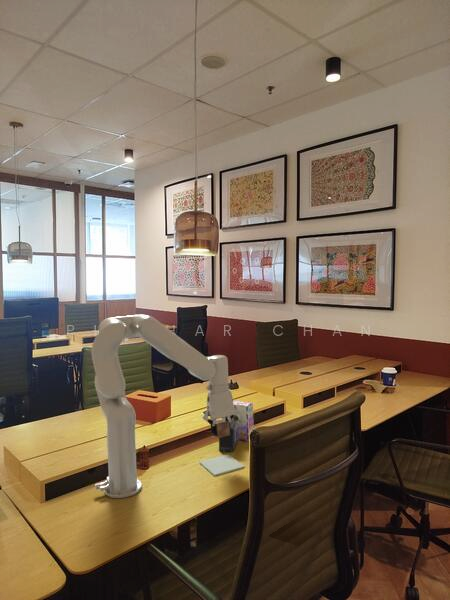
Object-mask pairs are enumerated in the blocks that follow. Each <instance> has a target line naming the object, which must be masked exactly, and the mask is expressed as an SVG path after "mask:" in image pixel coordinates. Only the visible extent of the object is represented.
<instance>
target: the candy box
mask: <svg viewBox="0 0 450 600" xmlns="http://www.w3.org/2000/svg"><path fill="white" fill-rule="evenodd" d="M233 404H234V408H235V409H236V411H237V413H236V414H235V415H234V417H233V418H232V420H237V441H242V442H247V443H249V442H250V441H249V433H250V431H251V430H253V429H254V427H255V425H254V403H253V402H249V401H248V402H247V401H241V400H234V399H233ZM221 419H225V417H224V418H221ZM254 430H255V429H254Z"/></svg>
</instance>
